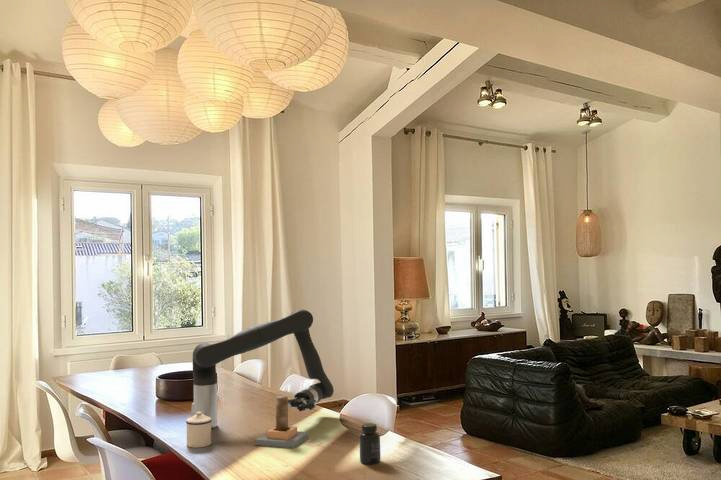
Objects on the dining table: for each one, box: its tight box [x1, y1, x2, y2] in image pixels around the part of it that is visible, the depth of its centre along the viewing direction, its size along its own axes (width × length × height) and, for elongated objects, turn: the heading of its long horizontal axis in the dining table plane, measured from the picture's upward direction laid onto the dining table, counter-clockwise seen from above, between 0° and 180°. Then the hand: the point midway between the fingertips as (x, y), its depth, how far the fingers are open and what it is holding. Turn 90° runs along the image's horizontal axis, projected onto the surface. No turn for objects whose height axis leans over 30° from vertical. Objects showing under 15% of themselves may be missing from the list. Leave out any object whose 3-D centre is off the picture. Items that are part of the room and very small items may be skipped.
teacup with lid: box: [185, 412, 212, 449], centre depth 225 cm, size 12×9×12 cm
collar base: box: [254, 425, 309, 449], centre depth 227 cm, size 15×14×4 cm
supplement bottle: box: [358, 422, 382, 466], centre depth 202 cm, size 7×7×12 cm
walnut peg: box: [275, 395, 289, 431], centre depth 227 cm, size 4×4×14 cm
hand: (289, 408), depth 234 cm, fingers open, 8 cm apart
